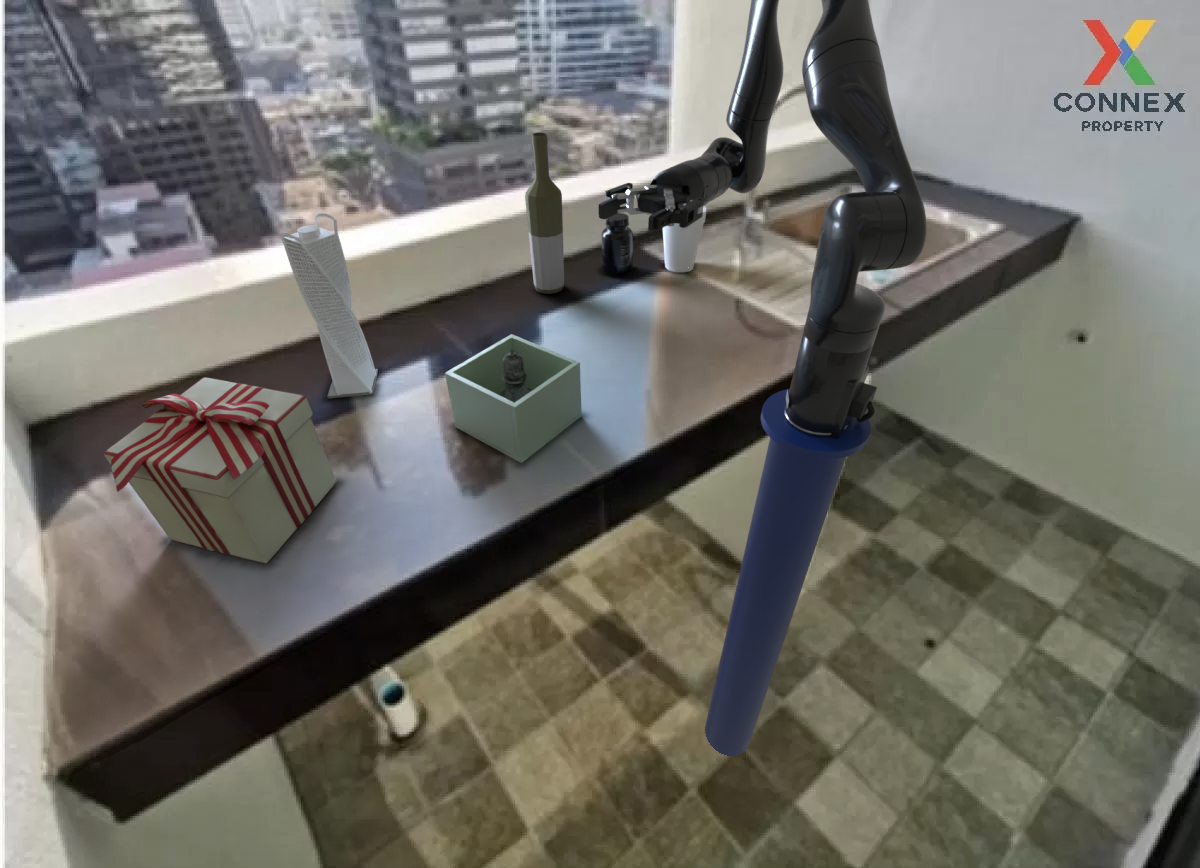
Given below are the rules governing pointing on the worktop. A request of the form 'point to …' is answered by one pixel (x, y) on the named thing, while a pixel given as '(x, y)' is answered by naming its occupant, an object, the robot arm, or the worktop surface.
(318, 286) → the skyscraper
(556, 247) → the bottle
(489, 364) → the waste bin
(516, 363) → the dark grey turned piece
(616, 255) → the supplement bottle
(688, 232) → the foam cup
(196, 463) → the gift box
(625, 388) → the worktop surface
